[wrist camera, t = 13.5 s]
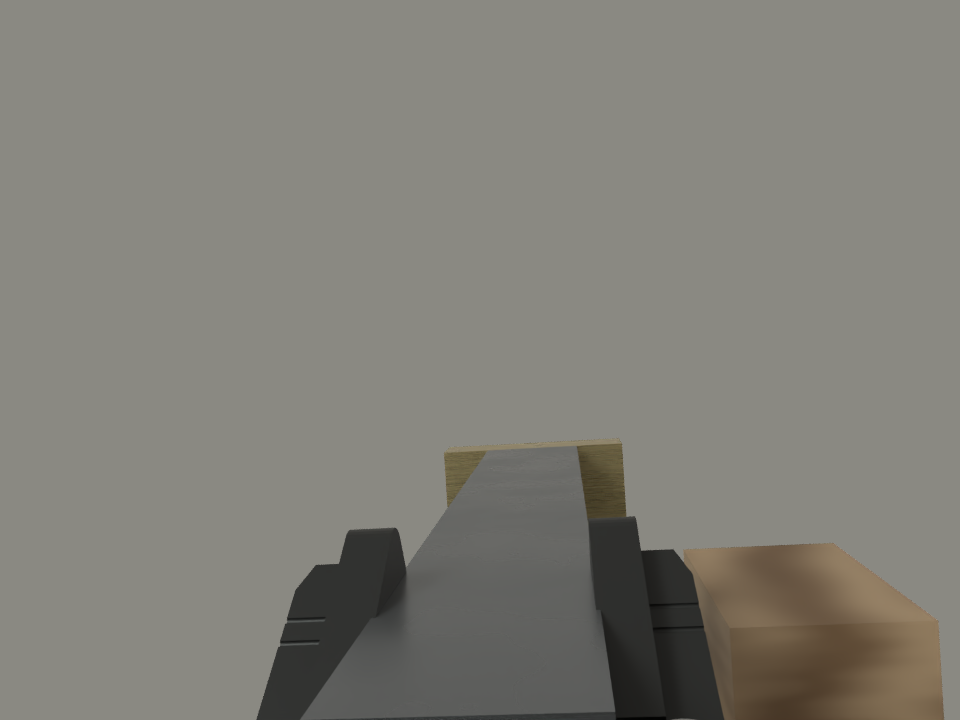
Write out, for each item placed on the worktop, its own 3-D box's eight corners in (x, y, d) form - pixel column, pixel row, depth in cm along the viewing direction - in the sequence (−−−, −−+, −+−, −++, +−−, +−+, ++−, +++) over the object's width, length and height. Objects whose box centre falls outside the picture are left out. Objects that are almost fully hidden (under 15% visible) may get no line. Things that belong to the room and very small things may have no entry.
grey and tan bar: (169, 1029, 9) (149, 723, 9) (455, 530, 32) (449, 447, 32) (800, 1031, 8) (780, 707, 8) (624, 523, 32) (618, 438, 32)
